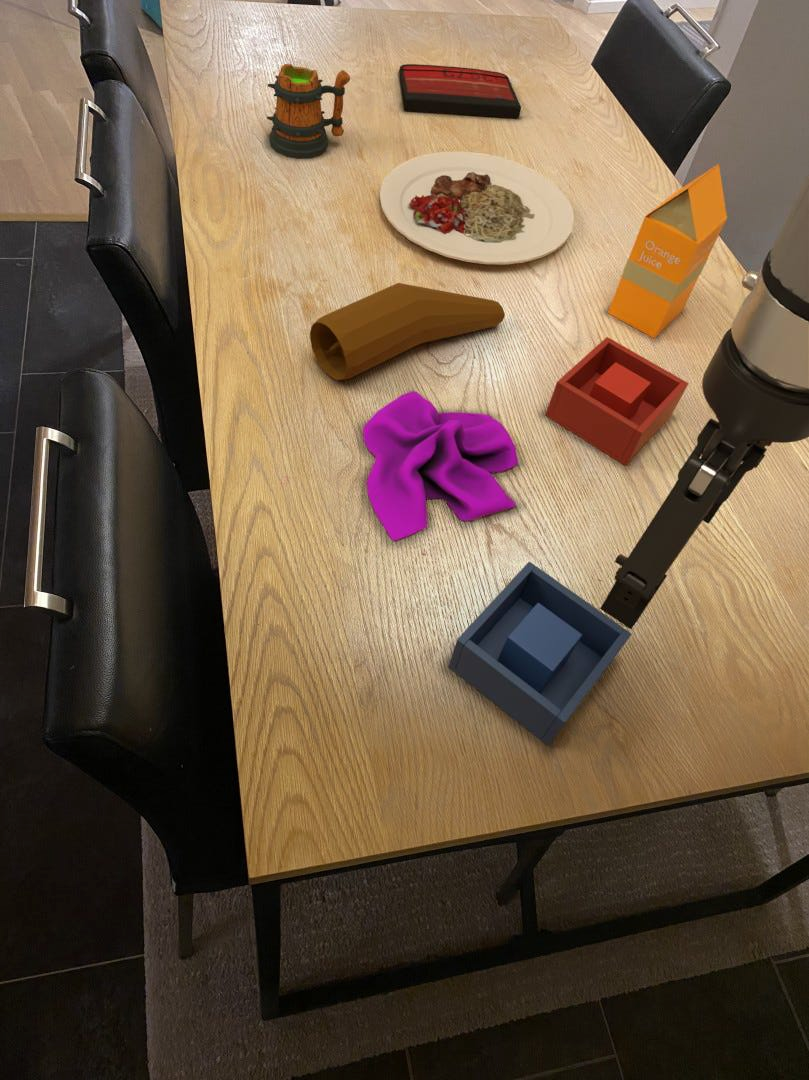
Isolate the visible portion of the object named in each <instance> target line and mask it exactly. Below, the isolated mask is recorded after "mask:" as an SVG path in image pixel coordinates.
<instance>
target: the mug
mask: <svg viewBox="0 0 809 1080" xmlns="http://www.w3.org/2000/svg"><path fill="white" fill-rule="evenodd" d="M279 70H280V71H279V72H278V75H275V76H274V77H275V78H276V80H275V82H274V83H267V87H268V88H271V89H272V90H274V93H273V96H274V97H276V102H275V107H274V110H275V112H274V113H273V114H272V116H267V117H266V120H268V121H271V122H272V124H273V125H272V127H271V131H270V133H269V135H268V136H269V145H270V147H271V148H272V150H273V151H275V152H276V153H278V154H280V155H282V156H285V157H287V158H291V159H292V158H294V159H297V160H299V159H312V158H317V157H319V156H321V155H323V154H325V153H326V152H327V150H328V148H329V145H330V143H329V142H330V141H329V137H328V134H327V131H326V128H325V127H328V126H331V131H330V132H331V134H332V136H333V137H335V138H336V137H341V136H343V135H344V133H345V130H344V128H343V126H342V125H343V122H344V121H343V117H342V114H343V110H344V95H345V93H346V87H345V86H346V85H347V84H348V83H349V82H350V81H351V77H350V74H349V73H348V72H347V71H346V70H343V69H342V70H340V71H338V73H337V74H336V78H335V82H334V85H333V86H332V85H328V84H327V85H326V84H325V85H322V84H321V83H322V82H323V81H324V80H323V78H322V79H319V75H318V71H317V69H310V68H307V67H303V66H294V65H293V64H292V63H284V64H283V65H282V66H281V67H280V69H279ZM324 94H333V95H334V98H333V99H334V101H333V110H332V111H333V112H332V116H331V118H324V115H323V114H325V111H324V110H322V103H321V101H322V100H323V98H322V96H323V95H324Z"/></svg>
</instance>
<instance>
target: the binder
mask: <svg viewBox="0 0 809 1080" xmlns="http://www.w3.org/2000/svg"><path fill="white" fill-rule="evenodd" d="M398 75H399V77H398V78H399V82H400V90H401V91H400V92H401V98H402V99H401V100H402V107H403V111H407V112H409V111H410V112H420V113H421V112H422V113H433V114H447V115H463V116H465V115H466V116H477V117H478V116H479V117H492V118H493V117H494V118H506V119H508V118H509V119H519V118H520V116H521V115H520V114H521V112H522V111H521V110H522V105H521V104H520V101H519V99H518V97H517V94H516V93H515V91H514V88H513V85H512V83H511V80H510V79H509V77H508V75H507V74H505V73H503V72H499V71H494V70H493V71H492V70H487V69H481V68H480V69H479V68H471V67H463V66H462V67H460V66H449V65H448V66H447V65H446V66H445V65H434V64H418V63H417V64H416V63H407V64H402V65H400V66H399V69H398Z"/></svg>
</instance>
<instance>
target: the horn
mask: <svg viewBox="0 0 809 1080" xmlns="http://www.w3.org/2000/svg"><path fill="white" fill-rule="evenodd" d="M505 317H506V312H505V311H504V308H503V306H502V305H501V304H500V303H499V302H498V301H496V300H493V299H489V298H483V297H478V296H472V295H466V294H461V293H456V292H451V291H445V290H440V289H434V288H428V287H423V286H419V285H418V286H417V285H412V284H407V283H401V282H397V283H395V284H393V285H390V286H387V287H385V288H383V289H380V290H379V291H377V292H374V293H372V294H370V295H368V296H365V297H363V298H361V299H358V300H356V301H353V302H352V303H350V304H347V305H345V306H342V307H340V308H338V309H336V310H334V311H332V312H329V313H327V314H325V315H323V316H321V317H319V318H317V320H315V322H314V323H313V324H312V325H311V327H310V330H309V331H310V332H309V340H310V344H311V349H312V352H313V354H314V357H315V359H316V361H317V363H318V364H319V366H320V367H321V369H322V370H323V371H324V372H325V373H326V375H328V376H329V377H330V378H332V379H334V380H337V381H342V380H348V379H352V378H353V377H356V376H357V375H359V374H361V373H363V372H366V371H367V370H369V369H371V368H374V367H376V366H378V365H379V364H382V363H384V362H386V361H388V360H390V359H391V358H394V357H396V356H397V355H400V354H402V353H404V352H406V351H408V350H410V349H412V348H413V347H416V346H419V345H422V344H426V343H430V342H434V341H438V340H443V339H447V338H450V337H456V336H459V335H463V334H468V333H472V332H477V331H481V330H485V329H489V328H494V327H496V326H498V325H499V324H500V323H502V322H503V321H504V319H505Z"/></svg>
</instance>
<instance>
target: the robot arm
mask: <svg viewBox="0 0 809 1080" xmlns="http://www.w3.org/2000/svg"><path fill="white" fill-rule="evenodd" d="M788 213H789V214H788V215H787V217H786V219H785V221H784V223H783V225H782V227H781V229H780V231H779V233H778V235H777V237H776V239H775V241H774V243H773V245H772V247H771V249H770V250H769V251H768V253H767V254H766V256H765V258H764V260H763V264H762V266H761V268H760V269H759V271H755V270H749V271H747V273H745V274H744V275H743V277H742V279H741V282H740V284H741V285H742V287H743V288H745V289H746V290H748V291H750V293H748V295H746V296H745V298H744V300H743V301H742V303H741V305H740V307H739V309H738V311H737V313H736V315H735V317H734V319H733V321H732V322H731V327H730V328H729V329H728V330H727V331H726V332H725V333H724V335H723V336H722V338H721V341H720V342H719V344H718V346H717V348H716V350H715V352H714V354H713V356H712V357H711V359H710V360H709V361H710V362H709V363H708V365H707V367H706V369H705V371H704V373H703V376H702V381H701V388H702V393H703V396H704V399H705V401H706V403H707V405H708V406H709V408H710V409H711V410H712V412H713V414H714V416H715V418H716V419H717V420H715V419H713V418H712V417H711V418H709V419H708V421H707V422H706V424H705V425H704V427H703V428H702V430H701V431H700V433H699V434H698V435H697V438H696V443H697V444H696V446H695V447H694V449H693V450H692V451H691V453H690V455H689V456H688V457H687V458H686V460H685V462H684V463H683V465H682V466H681V468H680V470H678V473H677V480H676V482H675V483H674V485H673V487H672V489H671V490H670V492H669V493H668V494H667V496H666V498H665V500H664V501H663V502H662V504H661V506H660V507H659V508H658V510H657V511H656V513H655V515H654V517H653V518H652V520H651V521H650V522H649V524H648V525H647V527H646V529H645V530H644V532H643V533H642V535H641V536H640V538H639V539H638V540H637V542H636V544H635V545H634V547H633V548H632V551H631V552H630V554H629V555H628V557H627V556H625V555H624V554H623V553H620V554H618V555H617V557H616V558H615V560H614V563H616V564H617V565H618V566H620V567H619V568H618V569H617V570H616V571H615V575H614V580H615V581H614V584H613V586H612V587H611V588H610V591H609V593H608V594H607V596H606V597H605V599H604V601H603V602H602V605H601V607H600V608H599V609H600V610H601V611H602V612H603V613H606V614H607V615H608V616H610V617H612V619H614V620H616V621H617V622H618V623H619V624H620V623H621V624H622V625H623V626H625V627H626V628H628V629H629V630H633V627H635V625H636V624H637V622H638V621H639V619H640V617H641V616H642V615H643V613H644V612H645V610H646V608H647V607H648V605H650V603H651V601H652V599H653V598H654V596H655V595H656V593H657V592H658V590H659V589H660V587H661V586H662V584H663V583H664V581H665V580H666V579H667V577H668V575H667V573H668V571H669V569H670V568H671V567H672V566H673V564H674V562H675V561H676V559H677V558H678V557H679V555H680V554H681V553H682V550H683V549H684V548H685V547H686V545H687V544H688V542H689V541H690V539H691V538H692V537H693V535H694V534H695V532H696V531H697V529H698V528H699V527H700V525H701V524H702V522H704V523H706V524H707V525H709V524H710V522H711V521H712V520H713V518H714V517H715V516H716V514H717V512H718V511H719V510H720V508H721V506H722V505H723V504H724V503H725V502H726V501H727V500H728V499H729V497H731V495H732V494H733V492H734V491H735V489H736V487H738V485H739V483H740V482H741V480H742V479H743V477H744V476H745V475H746V474H747V472H751V471H753V469H757V468H758V466H759V465H760V463H762V461H763V460H764V458H765V457H766V453H767V451H768V448H767V447H771V445H772V444H773V443H777V444H779V443H781V444H783V443H784V444H786V443H795V442H800V441H803V440H805V439H808V438H809V175H808V176H807V178H806V180H805V182H804V184H803V185H802V188H801V190H800V191H799V194H798V195H797V198H796V200H795V202H794V203H793V206H792V208H791V209H790V211H789V212H788Z"/></svg>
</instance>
